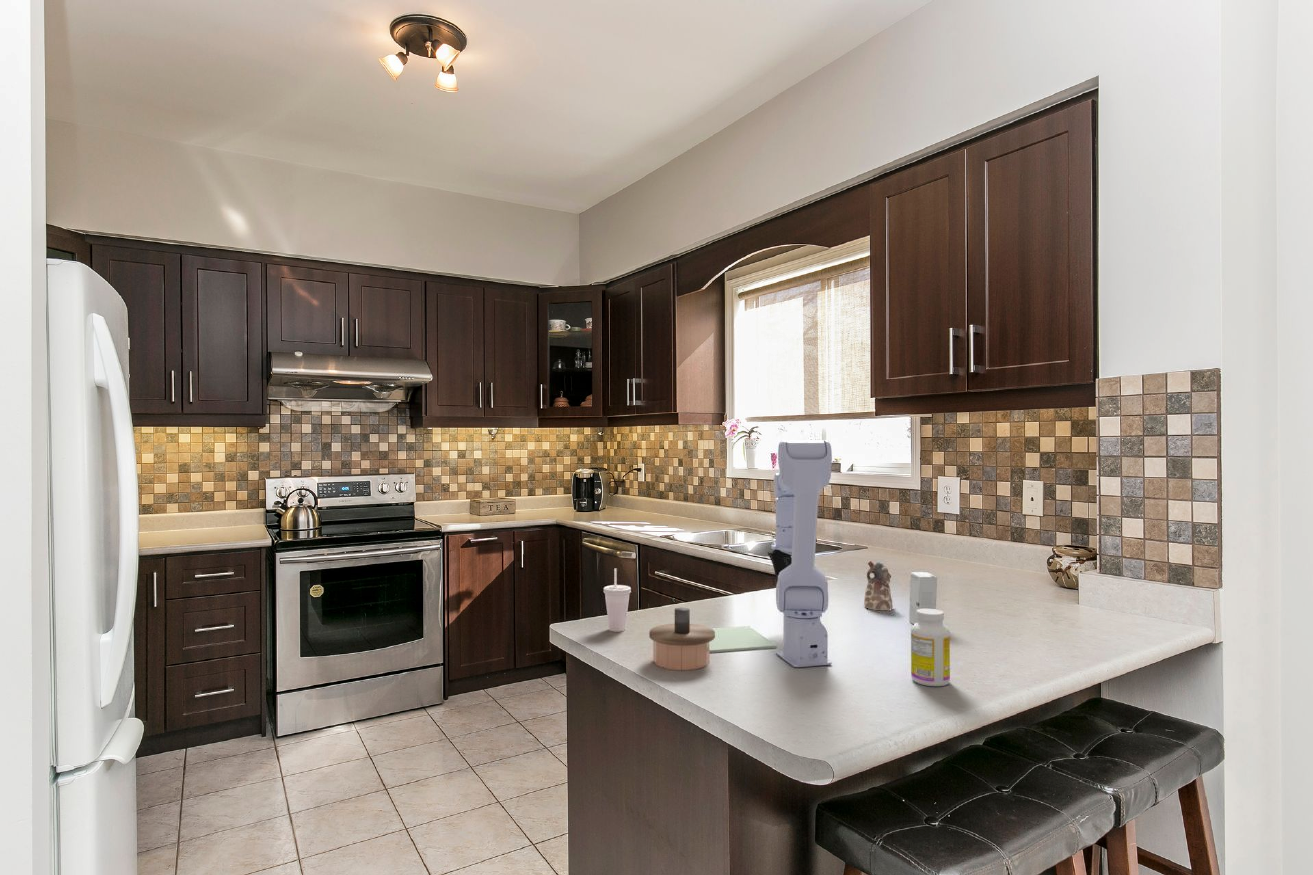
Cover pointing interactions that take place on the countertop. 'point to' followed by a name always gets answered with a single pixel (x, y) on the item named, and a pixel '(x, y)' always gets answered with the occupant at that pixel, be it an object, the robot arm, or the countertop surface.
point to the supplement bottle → (930, 649)
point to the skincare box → (922, 593)
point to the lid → (682, 631)
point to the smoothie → (617, 604)
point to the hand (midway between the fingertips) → (788, 585)
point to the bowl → (680, 656)
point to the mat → (738, 640)
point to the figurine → (878, 588)
